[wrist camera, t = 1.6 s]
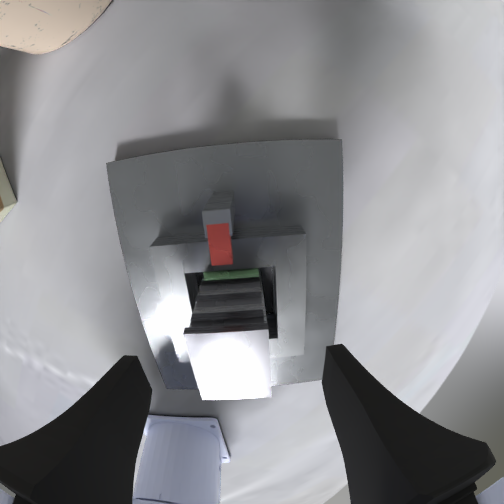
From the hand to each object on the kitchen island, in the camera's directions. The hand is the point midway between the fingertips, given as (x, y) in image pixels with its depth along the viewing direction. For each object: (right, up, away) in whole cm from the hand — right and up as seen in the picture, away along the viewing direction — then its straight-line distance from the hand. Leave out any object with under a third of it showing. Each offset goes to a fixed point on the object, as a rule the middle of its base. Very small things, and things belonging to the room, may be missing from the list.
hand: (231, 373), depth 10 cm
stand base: (0, +3, +7) cm, 7 cm away
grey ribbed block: (0, +2, +6) cm, 6 cm away
